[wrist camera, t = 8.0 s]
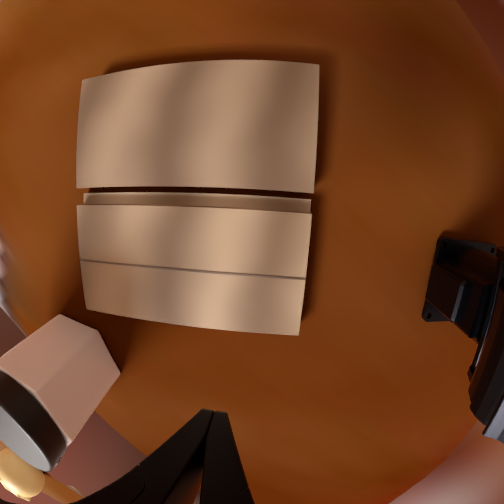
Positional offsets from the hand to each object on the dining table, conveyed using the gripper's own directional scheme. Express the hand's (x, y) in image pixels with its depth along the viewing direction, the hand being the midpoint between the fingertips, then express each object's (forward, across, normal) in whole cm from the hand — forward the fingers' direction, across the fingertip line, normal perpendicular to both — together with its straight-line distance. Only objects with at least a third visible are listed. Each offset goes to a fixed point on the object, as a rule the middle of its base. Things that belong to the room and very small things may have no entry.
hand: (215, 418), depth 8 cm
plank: (+11, +5, -11) cm, 16 cm away
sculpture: (+11, +43, +47) cm, 64 cm away
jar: (+12, +15, +9) cm, 21 cm away
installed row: (+12, +4, -2) cm, 13 cm away
